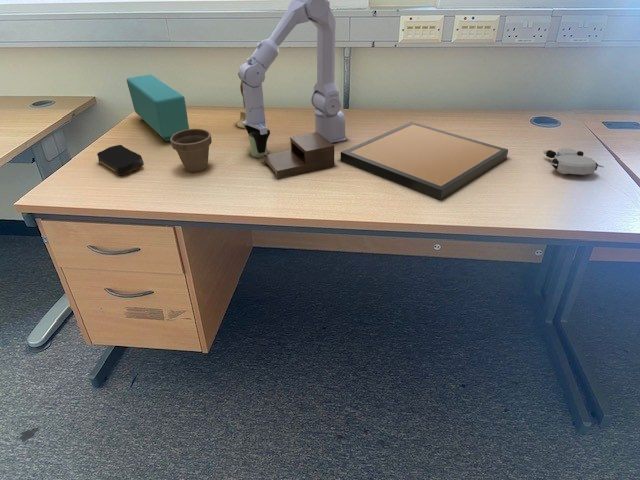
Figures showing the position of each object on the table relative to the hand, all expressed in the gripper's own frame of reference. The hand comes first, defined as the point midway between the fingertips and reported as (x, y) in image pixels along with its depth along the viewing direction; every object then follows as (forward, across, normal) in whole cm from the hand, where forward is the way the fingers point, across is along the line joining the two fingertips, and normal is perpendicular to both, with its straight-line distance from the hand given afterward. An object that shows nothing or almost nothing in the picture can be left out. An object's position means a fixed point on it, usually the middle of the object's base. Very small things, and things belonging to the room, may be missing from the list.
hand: (258, 148), depth 143 cm
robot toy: (+2, +51, +76) cm, 92 cm away
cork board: (+2, +27, +43) cm, 51 cm away
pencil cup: (+2, 0, 0) cm, 2 cm away
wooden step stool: (+2, +13, +8) cm, 15 cm away
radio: (+2, -37, -23) cm, 44 cm away
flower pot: (+2, +1, -20) cm, 20 cm away
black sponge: (+2, -11, -40) cm, 42 cm away
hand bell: (+2, -27, +5) cm, 28 cm away
